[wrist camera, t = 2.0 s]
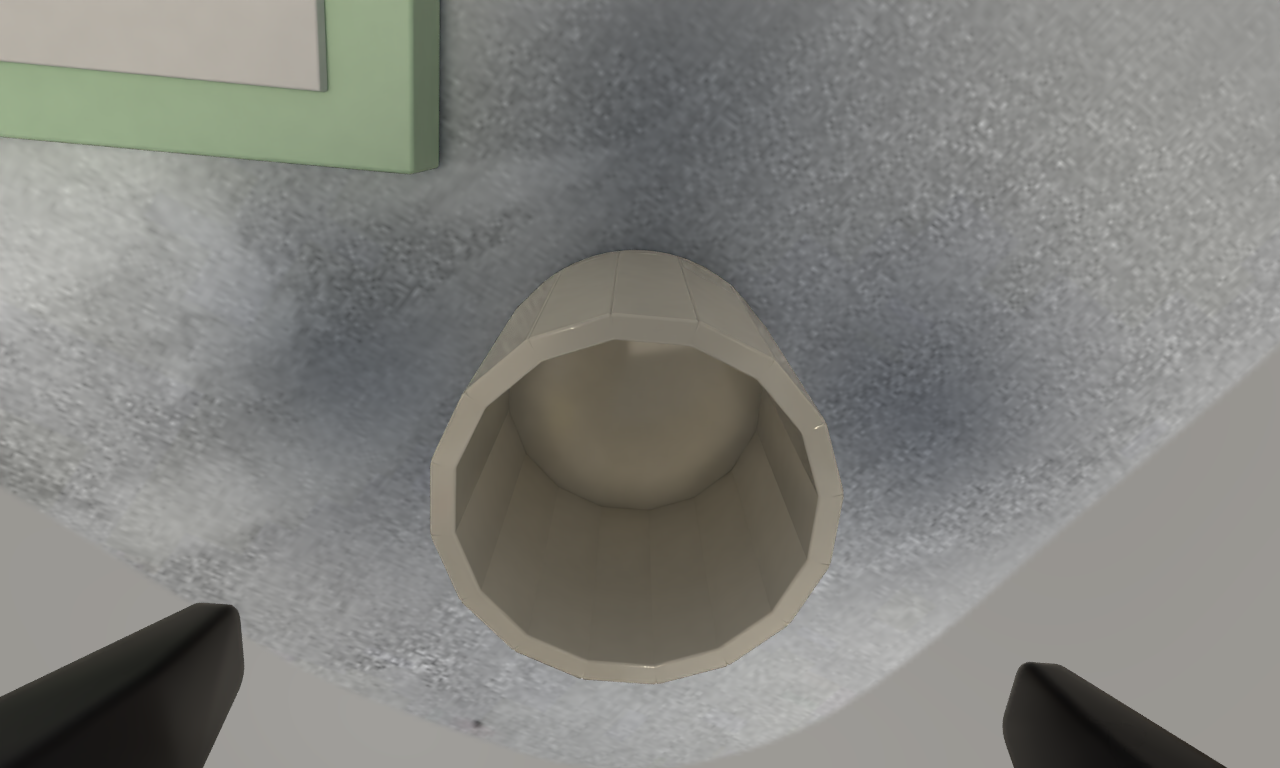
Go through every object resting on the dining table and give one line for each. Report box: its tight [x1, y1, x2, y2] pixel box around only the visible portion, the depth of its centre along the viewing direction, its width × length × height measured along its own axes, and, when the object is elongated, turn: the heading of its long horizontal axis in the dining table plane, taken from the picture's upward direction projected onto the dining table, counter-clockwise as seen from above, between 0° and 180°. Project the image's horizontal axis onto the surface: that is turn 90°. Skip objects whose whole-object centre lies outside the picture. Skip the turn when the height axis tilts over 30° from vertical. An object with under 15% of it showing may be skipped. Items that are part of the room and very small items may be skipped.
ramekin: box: [430, 250, 844, 684], centre depth 15 cm, size 6×6×6 cm
